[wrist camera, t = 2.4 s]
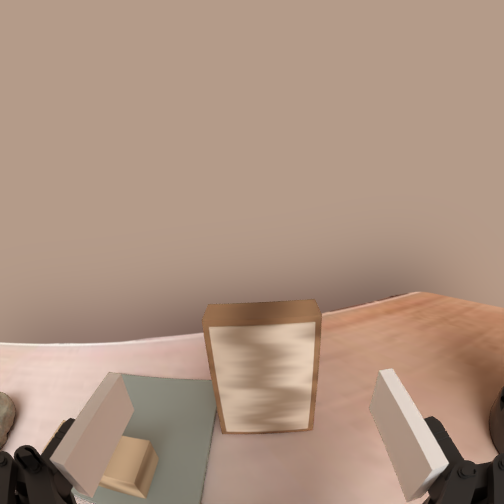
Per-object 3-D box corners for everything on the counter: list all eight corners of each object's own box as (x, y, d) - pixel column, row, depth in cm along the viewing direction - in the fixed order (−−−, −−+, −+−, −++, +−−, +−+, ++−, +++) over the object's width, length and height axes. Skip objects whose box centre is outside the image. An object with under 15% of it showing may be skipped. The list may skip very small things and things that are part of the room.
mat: (221, 383, 32) (220, 380, 32) (196, 528, 13) (195, 526, 13) (115, 375, 33) (114, 372, 33) (48, 483, 14) (45, 480, 14)
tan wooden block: (159, 458, 20) (149, 440, 19) (146, 498, 15) (133, 483, 14) (75, 438, 20) (63, 420, 20) (56, 469, 15) (41, 451, 15)
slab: (308, 410, 27) (314, 299, 23) (312, 430, 24) (322, 315, 20) (225, 414, 27) (208, 304, 24) (222, 434, 24) (201, 321, 21)
